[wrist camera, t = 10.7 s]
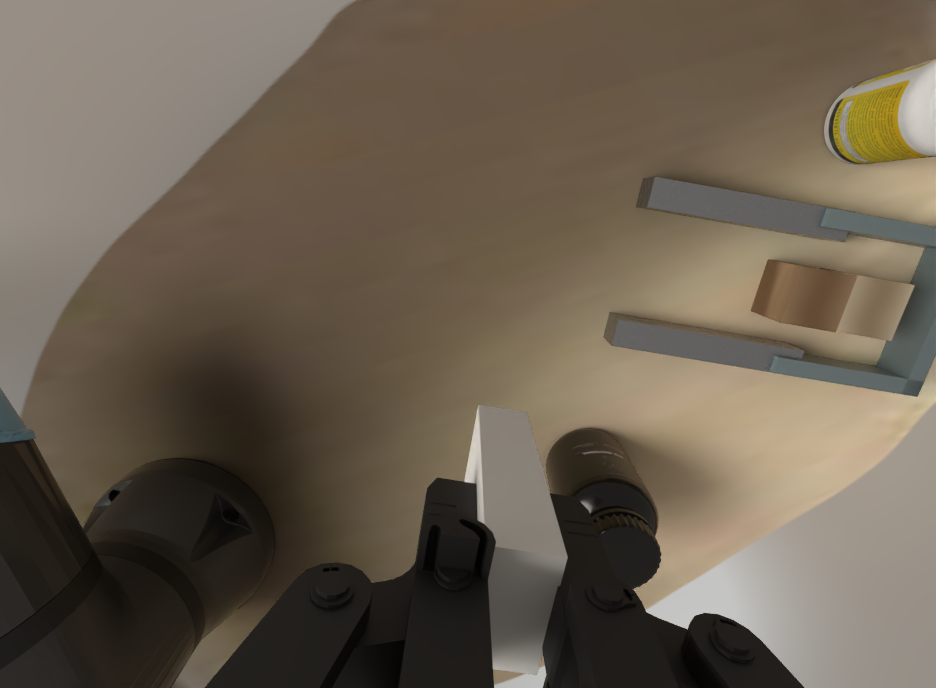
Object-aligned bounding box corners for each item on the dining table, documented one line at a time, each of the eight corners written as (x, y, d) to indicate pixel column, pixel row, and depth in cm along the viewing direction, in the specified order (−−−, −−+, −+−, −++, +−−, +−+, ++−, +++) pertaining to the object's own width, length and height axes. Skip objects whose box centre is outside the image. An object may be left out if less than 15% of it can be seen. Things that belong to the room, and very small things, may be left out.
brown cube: (749, 310, 38) (780, 322, 34) (767, 259, 37) (800, 265, 33) (799, 319, 38) (835, 332, 35) (818, 268, 37) (857, 276, 34)
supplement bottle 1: (603, 411, 41) (653, 493, 29) (638, 476, 42) (699, 578, 31) (529, 448, 42) (549, 541, 30) (565, 510, 43) (598, 621, 32)
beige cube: (800, 318, 38) (836, 331, 35) (819, 267, 37) (858, 274, 34) (849, 327, 39) (891, 341, 35) (869, 277, 37) (914, 285, 34)
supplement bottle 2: (850, 181, 36) (985, 173, 26) (805, 125, 35) (928, 95, 25) (916, 122, 34) (1082, 91, 25) (871, 62, 34) (1026, 6, 24)
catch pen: (751, 360, 39) (773, 372, 36) (803, 208, 36) (831, 208, 33) (885, 382, 40) (917, 396, 37) (947, 233, 36) (988, 236, 34)
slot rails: (603, 337, 39) (611, 345, 37) (643, 178, 36) (655, 176, 33) (775, 365, 39) (795, 376, 37) (830, 211, 36) (855, 212, 34)
